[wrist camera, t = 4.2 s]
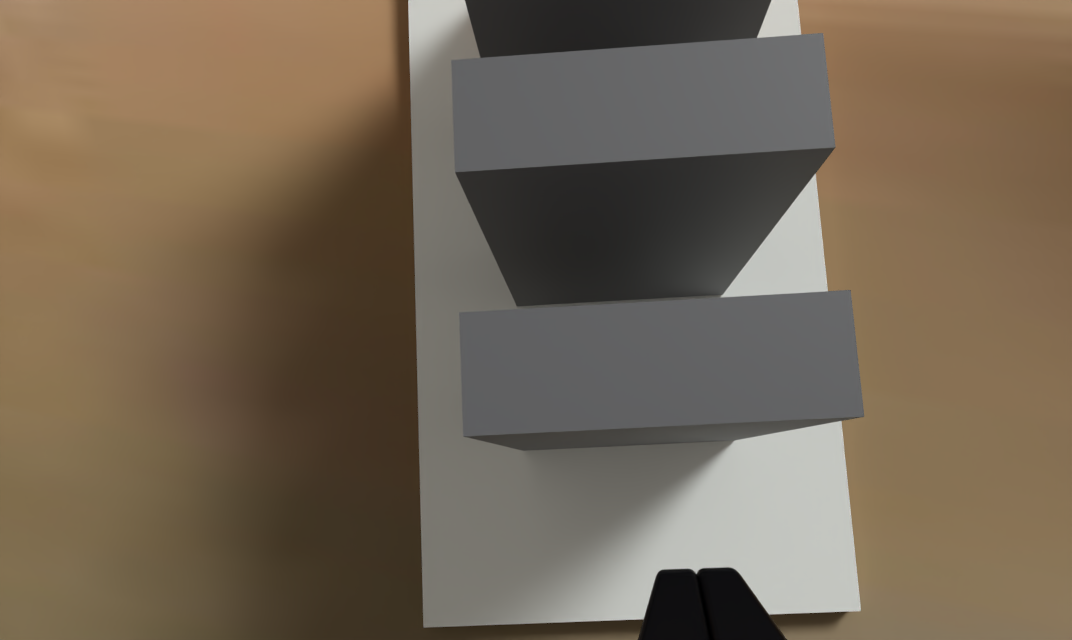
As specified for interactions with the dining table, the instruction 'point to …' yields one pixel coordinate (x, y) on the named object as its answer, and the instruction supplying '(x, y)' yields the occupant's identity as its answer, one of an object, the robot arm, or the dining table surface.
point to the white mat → (599, 472)
